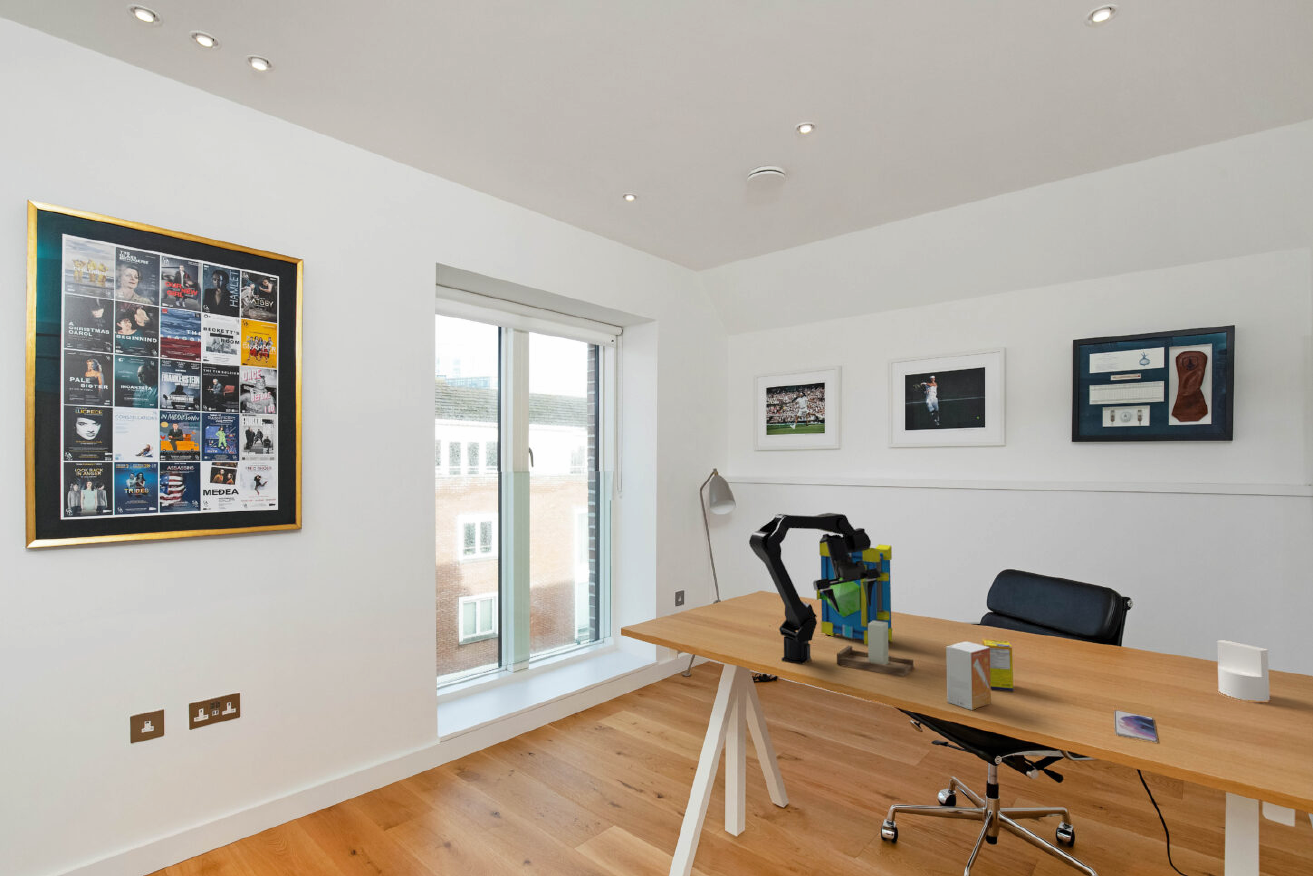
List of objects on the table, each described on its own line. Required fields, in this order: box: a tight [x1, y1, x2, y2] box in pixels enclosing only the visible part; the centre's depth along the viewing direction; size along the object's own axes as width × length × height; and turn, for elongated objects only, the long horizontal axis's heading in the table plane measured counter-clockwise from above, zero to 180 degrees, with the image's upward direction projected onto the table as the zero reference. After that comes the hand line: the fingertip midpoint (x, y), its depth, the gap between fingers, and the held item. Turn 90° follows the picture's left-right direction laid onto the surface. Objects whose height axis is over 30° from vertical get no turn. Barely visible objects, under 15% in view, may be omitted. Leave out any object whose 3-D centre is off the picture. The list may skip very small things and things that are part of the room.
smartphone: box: [1113, 710, 1159, 743], centre depth 135 cm, size 7×1×15 cm
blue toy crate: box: [816, 541, 893, 646], centre depth 204 cm, size 14×23×30 cm, turn 40°
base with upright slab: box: [1216, 639, 1271, 701], centre depth 152 cm, size 9×9×12 cm
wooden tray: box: [836, 645, 914, 678], centre depth 176 cm, size 18×10×3 cm, turn 55°
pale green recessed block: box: [867, 620, 889, 665], centre depth 175 cm, size 4×5×11 cm
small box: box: [945, 640, 992, 711], centre depth 149 cm, size 8×6×13 cm
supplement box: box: [981, 638, 1014, 692], centre depth 159 cm, size 6×6×11 cm
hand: (854, 609), depth 184 cm, fingers open, 9 cm apart
